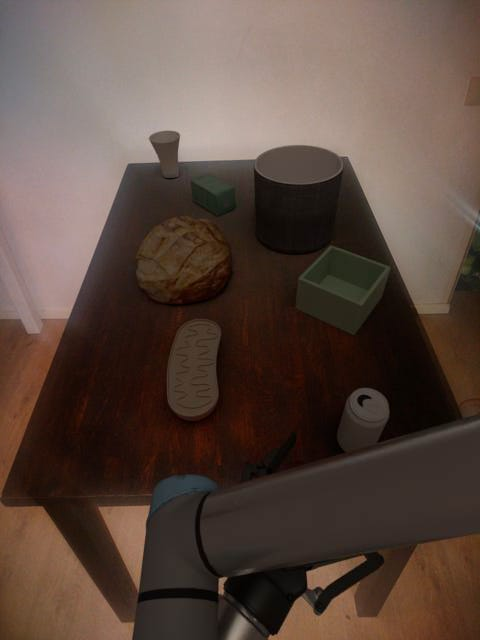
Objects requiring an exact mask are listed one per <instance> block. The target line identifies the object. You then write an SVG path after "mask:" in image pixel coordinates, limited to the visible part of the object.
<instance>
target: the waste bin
mask: <svg viewBox="0 0 480 640" xmlns="http://www.w3.org/2000/svg"><path fill="white" fill-rule="evenodd" d="M391 268H392V267H391V266H389V265H387V264H383V263H381V262H378V261H376V260H373V259H370V258H367V257H364V256H361V255H360V254H356V253H353V252H351V251H348V250H345V249H342V248H339V247H337V246H334V245H331V244H330V245H329V246H328V247H327V248H326V249H325V250H324V251H323V252H322V253H321V254H320V255H319V256H318V257H317V258H316V259H315V261H313V263H312V264H310V265H309V267H308V268H307V269H306V270H305V271H303V272H302V274H301V275H300V276H299V277H298V278H297V285H296V298H295V309H296V310H298V311H300V312H303V313H305V314H307V315H309V316H311V317H313V318H316V319H318V320H320V321H321V322H323V323H325V324H329V326H330V325H331V326H333V327H335V328H336V329H339V330H340V331H343V332H345V333H347V334H349V335H352V336H355V335H356V334H357V332H358V331H359V330H360V328H361V327H362V325H363V324H364V322H365V321H366V320H367V318H368V317H369V315H370V314H371V313H372V311H373V310H374V309H375V307H376V306H377V304H378V303H379V302H380V301H381V299H382V298H383V295H384V291H385V288H386V285H387V281H388V278H389V275H390V271H391Z"/></svg>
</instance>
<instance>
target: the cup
mask: <svg viewBox="0 0 480 640" xmlns="http://www.w3.org/2000/svg"><path fill="white" fill-rule="evenodd" d="M180 139H181V134H180V132H178V131H175V130H161V131H160V130H159V131H157V132H154V133H152V134H151V135H150V136H149V137H148V140H149V142H150V144H151V146H152V148H153V150H154V151H155V154H156V155H157V158H158V161H159V164H160V168H161V173H162V172H163V173H165V174H173V173H176V172H178V171H179V170H180V167H179V147H180Z"/></svg>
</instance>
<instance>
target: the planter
mask: <svg viewBox="0 0 480 640" xmlns="http://www.w3.org/2000/svg"><path fill="white" fill-rule="evenodd" d="M253 163H254V164H253V182H254V183H253V185H254V186H253V187H254V188H253V189H254V216H255V217H254V219H255V236H256V238H257V240H258V241H259V242H260V244H262V245H263V246H264V247H265V248H267V249H270V251H271V250H272V251H273V252H278V253H281V254H287V255H305V254H309V253H313V252H316V251H318V250H321V249H323V248H324V247H326V246H327V245H328V244H329V243H330V242H331V240H332V239H333V235H334V229H335V222H336V217H337V210H338V205H339V198H340V192H341V186H342V181H343V173H344V168H345V164H344V163H345V162H344V160H343V159H342V158H341V156H340V155H339V154H337V153H335V152H334V151H332V150H330V149H327V148H324V147H320V146H315V145H307V144H291V145H290V144H289V145H283V146H277V147H274V148H271V149H268V150H265V151H263V152H262V153H261V154H259V155H258V156H257V157H256V158H255V159H254V162H253Z"/></svg>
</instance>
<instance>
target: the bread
mask: <svg viewBox="0 0 480 640" xmlns="http://www.w3.org/2000/svg"><path fill="white" fill-rule="evenodd" d="M134 259H135V264H136V266H137V269H136V270H135V271H136V272H135V275H136V279H137V282H138V285H139V287H140V288H141V289H143V291H144V292H145V293H146V294H147V297H148V298H149V299H151V300H153V301H155V302H157V303H159V304H167V305H187V304H192V303H199V302H203V301H206V300H209V299H212V298H214V297H215V296H218V295H219V294H220V293H222V292H223V291H224V290H226V288H228V284H229V283H230V282H229V281H230V280H231V277H232V274H235V272H234V271H233V268H232V266H233V251H232V247H231V245H230V243H229V239H228V238H227V237H226V236H225V234H224V233H223V231H220V229H219V227H218V226H217V225H216V224H215V223H214V222H213V221H212V220H210V219H206V218H193V217H192V216H189V215H188V214H184V215H180V216H175V217H172V218H169V219H167V220H164V221H162V222H161V223H157V225H155V226H154V227H153V228H152V229H151V231H150V232H149V233H148V234H147V235H146V236H145V238H144V239H143V240H142V242H141V244H140V246H139V248H138V250H137V251H136V253H135V257H134Z"/></svg>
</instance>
